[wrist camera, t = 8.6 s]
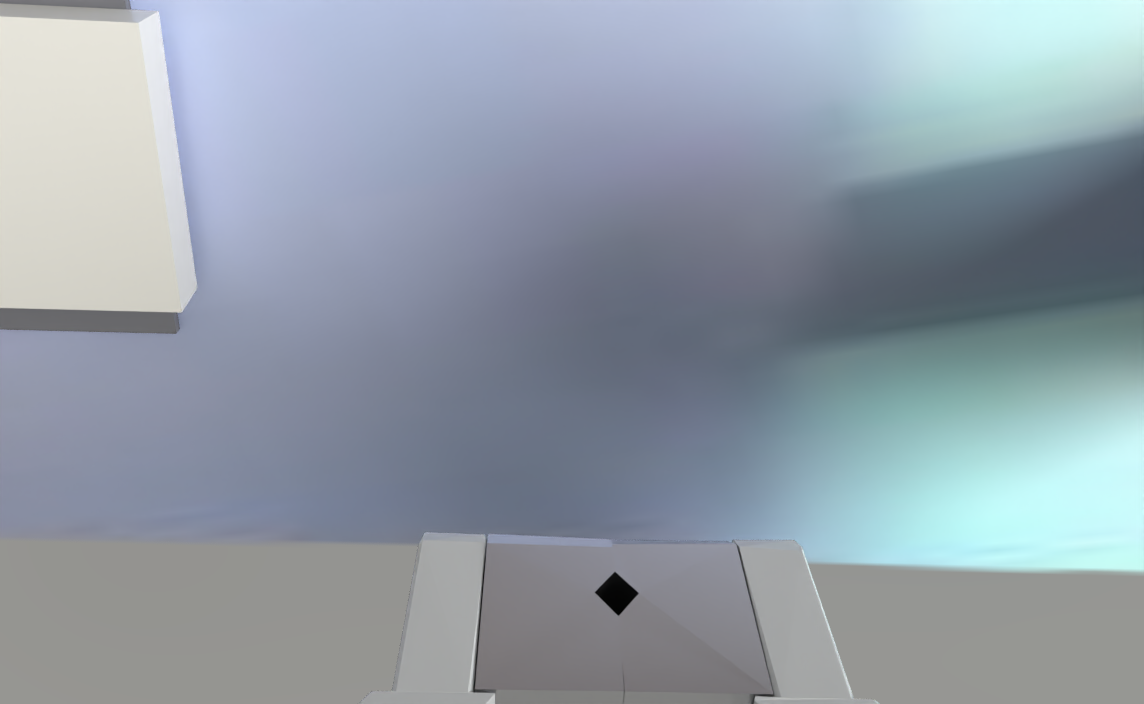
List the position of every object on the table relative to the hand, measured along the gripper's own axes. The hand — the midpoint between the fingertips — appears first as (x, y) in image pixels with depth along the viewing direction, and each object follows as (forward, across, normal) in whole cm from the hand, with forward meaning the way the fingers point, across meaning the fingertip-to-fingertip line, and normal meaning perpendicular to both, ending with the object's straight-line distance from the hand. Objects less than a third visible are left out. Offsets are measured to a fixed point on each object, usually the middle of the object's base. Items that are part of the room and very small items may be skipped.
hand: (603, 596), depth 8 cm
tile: (+27, +13, +6) cm, 30 cm away
